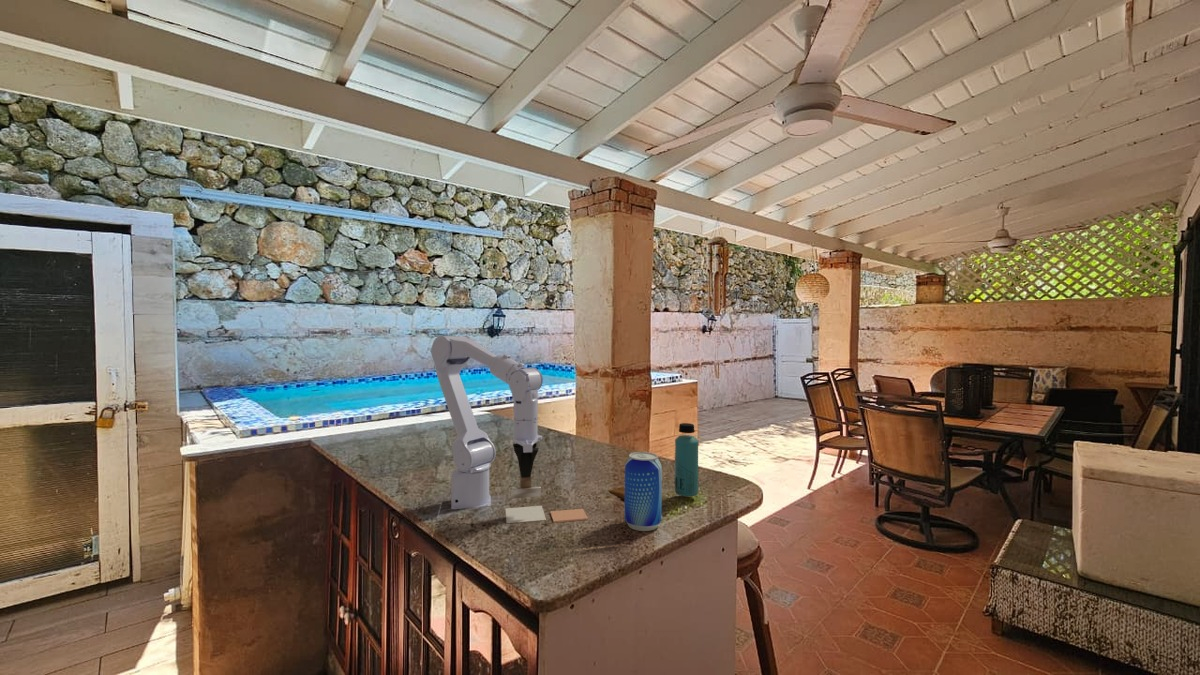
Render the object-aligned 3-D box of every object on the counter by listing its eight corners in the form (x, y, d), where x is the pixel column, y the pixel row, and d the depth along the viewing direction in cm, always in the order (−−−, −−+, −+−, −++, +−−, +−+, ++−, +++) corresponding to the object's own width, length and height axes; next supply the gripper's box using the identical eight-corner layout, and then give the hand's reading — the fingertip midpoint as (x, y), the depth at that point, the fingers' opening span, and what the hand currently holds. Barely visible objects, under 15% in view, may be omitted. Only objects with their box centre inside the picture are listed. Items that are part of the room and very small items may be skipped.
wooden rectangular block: (511, 498, 108) (510, 469, 108) (510, 494, 111) (510, 465, 111) (541, 496, 110) (540, 466, 110) (539, 491, 113) (539, 463, 113)
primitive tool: (607, 492, 129) (607, 479, 129) (624, 489, 132) (624, 477, 132) (645, 516, 112) (645, 502, 112) (663, 512, 115) (664, 498, 115)
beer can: (664, 520, 109) (665, 452, 109) (657, 535, 101) (657, 461, 101) (630, 515, 112) (630, 449, 111) (620, 529, 104) (620, 458, 103)
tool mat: (506, 525, 105) (506, 523, 105) (505, 510, 114) (505, 508, 114) (546, 521, 108) (546, 519, 108) (541, 507, 116) (541, 505, 116)
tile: (550, 516, 112) (553, 527, 106) (550, 511, 112) (553, 521, 106) (582, 514, 114) (587, 523, 108) (582, 508, 113) (587, 518, 108)
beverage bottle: (702, 496, 125) (702, 423, 125) (693, 504, 119) (694, 427, 119) (679, 492, 128) (680, 420, 128) (669, 499, 123) (670, 424, 123)
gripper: (545, 423, 105) (545, 483, 105) (539, 413, 119) (538, 465, 119) (514, 424, 103) (513, 485, 103) (511, 413, 117) (511, 467, 117)
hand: (525, 475), depth 111 cm, fingers closed on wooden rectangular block, 2 cm apart
